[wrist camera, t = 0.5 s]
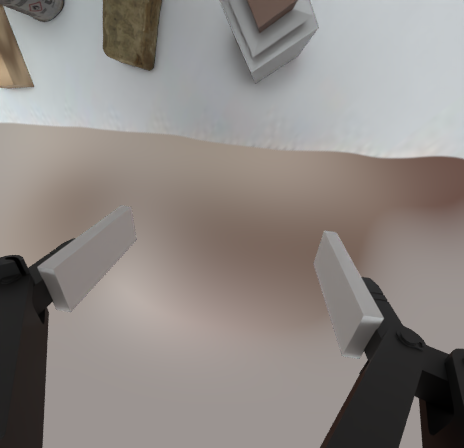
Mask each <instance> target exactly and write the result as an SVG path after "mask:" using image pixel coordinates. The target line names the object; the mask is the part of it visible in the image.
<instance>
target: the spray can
mask: <svg viewBox="0 0 464 448" xmlns="http://www.w3.org/2000/svg"><path fill="white" fill-rule="evenodd" d="M0 4H1V5H4V6H6V7H8V8H11V9H14V10H16V11H19V12H22V13H24V14H27V15H30V16H32V17H33V18H35V19H37V20H39V21H43V22H45V21H50V20H51V19H53V18H54V17H55V16H56V15H57V14H58V13H59V12H60V11H61V9H62V7H63V0H0Z"/></svg>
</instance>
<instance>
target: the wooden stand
mask: <svg viewBox="0 0 464 448" xmlns="http://www.w3.org/2000/svg"><path fill="white" fill-rule="evenodd" d="M22 87H34V85H33V83H32V80H31V78H30V75H29V73H28V70H27V67H26V65H25V62H24V60H23V57H22V55H21V52H20V49H19V47H18V44H17V42H16V39H15V37H14V34H13V32H12V29H11V26H10V24H9V21H8V19H7V16H6V14H5V11H4V8H3V6H2V5H1V4H0V88H22Z"/></svg>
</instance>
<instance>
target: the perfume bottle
mask: <svg viewBox="0 0 464 448" xmlns="http://www.w3.org/2000/svg"><path fill="white" fill-rule="evenodd" d="M219 1H220V3H221V5H222V8H223V10H224V13H225V15H226V17H227V20H228V22H229V24H230V27H231V29H232V32H233V34H234V36H235V38H236V41H237V43H238V45H239V48H240V50H241V52H242V54H243V57H244V59H245V61H246V63H247V66H248V68H249V70H250V73H251V75H252V77H253V79H254V82H255V84H256V83H257V82H259V81H260V80H262V79H263V78H265V77H266V76H268V75H270V74H271V73H273V72H274V71H276V70H277V69H279V68H280V67H282V66H283V65H285V64H286V63H288V62H289V61H291V60H293V59H294V58H296V57H297V56H298V55H299V54H300V53H301V51H302V50H303V48H304V47H305V46H306V44H307V43H308V41H309V40H310V39H311V37H312V36H313V35H314V33H315V32H316V30H317V29H318V28H319V27H318V24H317V21H316V17H315V14H314V11H313V8H312V5H311V1H310V0H219Z"/></svg>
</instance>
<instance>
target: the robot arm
mask: <svg viewBox="0 0 464 448" xmlns="http://www.w3.org/2000/svg"><path fill="white" fill-rule="evenodd" d="M136 240H137V239H136V232H135V226H134V220H133V214H132V208H131V207H129V206H119V207H118V208H117V209H115V210H114V211H113V212H111V213H110V214H109V215H107V216H106V217H105V218H103V219H102V220H100V221H99V222H98V223H97V224H95V225H94V226H92V227H91V228H90V229H88V230H87V231H85V232H84V233H83V234H81V235H80V236H79V237H77V238H76V239H75V238H74V239H71V240H69V241H67V242H64V243H63V244H61V245H60V246H58V247H57V248H56V249H54V250H53V251H51V252H50V254H48V255H46V256H44V257H43V258H42V259H40V260H39V261H37V262H36V263H35V264H33V265H32V266H30V267H29V268H28V267H27V265H26V263H25V261H24V259H23V257H21V256H19V255H9V256H4V257H1V258H0V448H42V445H43V444H42V443H43V424H44V423H43V422H44V402H45V401H44V400H45V381H46V359H47V338H48V317H49V312H48V309H47V306H48V305H49V304H50V303H51V302H53V303H54V305H55V307H56V310H60V311H67V312H72V310H73V309H74V308H75V307H76V306H77V305H78V304H79V303H80V301H81V300H82V299H83V298H84V297H85V296H86V295H87V294H88V293H89V292H90V291H91V289H92V288H93V287H94V286H95V285H96V284H97V283H98V282H99V281H100V280H101V278H102V277H103V276H104V275H105V274H106V273H107V272H108V271H109V270H110V269H111V267H113V265H114V264H115V263H116V262H117V261H118V260H119V259H120V258H121V257H122V256H123V254H124V253H125V252H126V251H127V250H128V249H129V248H130V247H131V246H132V245H133V243H134V242H135V241H136ZM314 267H315V270H316V273H317V277H318V280H319V283H320V286H321V290H322V293H323V296H324V299H325V303H326V306H327V309H328V312H329V316H330V318H331V322H332V325H333V329H334V332H335V335H336V338H337V341H338V345H339V348H340V351H341V354H342V356H345V357H351V358H357V359H359V358H360V357H361V355H362V353H363V352H365V354H366V356H367V359H368V361H367V362H366V364H365V365H364V367H363V369H362V370H361V372H360V373H359V374H360V375H359V377H358V378H357V380H356V382H355V384H354V386H353V388H352V390H351V391H350V393H349V395H348V397H347V399H346V401H345V402H344V404H343V406H342V408H341V410H340V412H339V413H338V415H337V417H336V419H335V421H334V423H333V425H332V427H331V428H330V430H329V432H328V434H327V436H326V438H325V439H324V441H323V443H322V445H321V447H320V448H399V444H400V441H401V438H402V435H403V431H404V428H405V425H406V421H407V418H408V415H409V412H410V408H411V405H412V402H413V398H414V396H416V397H418V398H419V406H420V419H421V431H422V446H423V448H464V349H455V350H453V351H452V352H451V353H450V354H447V353H444V352H442V351H439V350H436V349H434V348H432V347H429V346H427V345H426V344H425V342H424V340H423V339H422V338H421V337H420V336H419V335H418V334H416V333H415V332H414V331H412V330H411V329H409V328H406V327H405V326H403V325H402V323H401V321H400V320H399V318H398V317H397V315H396V313H395V312H394V310H393V309H392V307H391V305H390V304H389V302H387V299H386V297H385V296H384V295H383V293H382V291H381V289H380V288H379V286H378V285H377V284H376V283H375V282H373V281H372V280H371V279H370V278H364V277H361V276H360V274H359V272H358V271H357V269H356V267H355V265H354V264H353V262H352V260H351V258H350V256H349V254H348V252H347V251H346V249H345V247H344V245H343V243H342V242H341V240H340V238H339V236H338V235H337V233H336V232H331V231H324V233H323V236H322V239H321V242H320V245H319V248H318V252H317V255H316V258H315V261H314Z"/></svg>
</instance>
